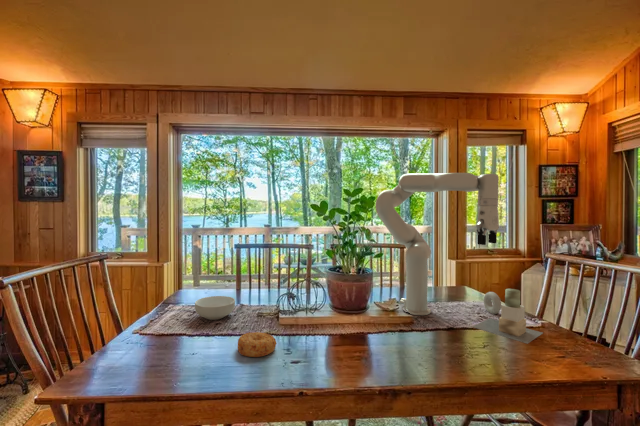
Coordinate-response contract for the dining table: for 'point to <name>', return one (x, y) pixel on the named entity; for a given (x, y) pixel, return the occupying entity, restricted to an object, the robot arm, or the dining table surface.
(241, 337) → the bagel
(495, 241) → the robot arm
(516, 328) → the base block
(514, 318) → the top block
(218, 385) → the dining table surface
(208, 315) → the cereal bowl
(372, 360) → the dining table surface
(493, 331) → the tile
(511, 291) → the cylinder
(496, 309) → the donut
